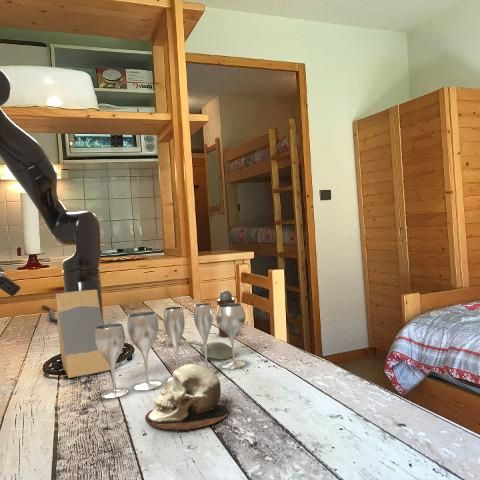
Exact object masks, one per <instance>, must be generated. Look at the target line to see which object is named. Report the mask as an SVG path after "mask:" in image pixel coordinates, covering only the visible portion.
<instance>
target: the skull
mask: <svg viewBox="0 0 480 480" xmlns="http://www.w3.org/2000/svg"><path fill="white" fill-rule="evenodd" d="M172 376H173V379H172V380H169V381H168V380H167V381H166V382H165V383H164V384H163V388H162V389H161V390H160V394H159V395H157V396H156V398H154V401H153V409H151V410H150V411H148V412H147V413H146V415H145V416H144V420H145V423H146V424H147V425H149V426H151V427H154V428H158V429H163V430H173V431H176V432H178V431H179V430H182V431H186V430H187V431H189V430H192V429H194V430H195V429H197V428H204V427H207V426H208V427H209V426H210V425H211V426H213V425H215V424H216V423H218V422H221V421H222V420H224V419H225V418H227V416H228V414H229V409H228V407H227V406H226V405H225V404H223V403H221V402H220V398H221V394H222V392H221V391H222V387H221V381H220V379H219V377H218V375H217V374H216V373H213V372H211V371H210V370H208V369H206V367H204V366H202V365H199V364H196V363H188V364H184V365H182V366H179V368H178V369H177V368H176V369H175V370H173V372H172Z"/></svg>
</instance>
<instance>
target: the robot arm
mask: <svg viewBox="0 0 480 480" xmlns="http://www.w3.org/2000/svg"><path fill="white" fill-rule="evenodd" d="M11 94H12V85H11V81H10V79H9V77H8V75H7V74H6V73H5V72H4V71H2V69H0V158H1V160H2V161H3V164H4V165H5V166H6V167H7V169H8V170H9V172H10V173H11V174H12V176H13V177H14V179H15V180H16V181H17V182H18V184H19V185H20V186H21V187H22V189H23V190H24V192H25V193H26V194H27V196H28V197H29V199H30V200H31V203H32V204H33V205H34V206H35V208H36V209H37V211H38V213H39V214H40V216H41V217H42V219H43V221H44V223H45V225H46V226H47V229H48V230H49V231H50V233H51V235H52V237H53V238H54V239H55V241H57V242H58V243H59V244H61V245H62V246H63V245H64V246H75V250H74V251H75V252H74V253H73V254H72V256H70V257H68V258H66V259H64V260H63V261H62V263H61V269H62V277H63V289H64V293H67V292H75V291H85V290H97V293H98V299H99V305H100V310H101V315H102V320H103V324H104V325H105V319H104V318H105V317H104V306H103V305H104V304H103V295H102V283H101V270H100V261H101V258H102V257H101V256H102V249H101V248H102V247H101V226H100V222H99V218H98V217H97V216H96V214H95V213H94V212H92V211H88V210H84V211H83V210H81V211H80V210H79V211H77V210H76V211H69V210H68V209H67V208H66V207H65V206H64V204H63V203H62V202H61V199H60V198H59V196H58V189H57V188H58V173H57V169H56V167H55V164H54V163H53V161H52V159H51V158H50V156H49V155H48V154H47V152H46V150H45V149H44V148H43V147H42V145H41V144H40V143H39V142H38V141H37V140H35V138H33V137H32V136H31V135H29V134H28V133H27V132H25V131H24V130H23V129H22V128H20V127H19V126H18V125H16V124H15V123H14V122H13V121H12V120H11V119H10V118H9V117H8V116H7V115H6V113H5V112H4V111H3V109H2V107H1V106H3V105H5V104H6V103H7V102H8V101H9V99H10V97H11ZM21 288H22V287H21V285H19V284H18V283H17V282H15V281H14V280H12V279H11V278H9V277H8V276H7V274H6V272H5V270H4V269H2V268H1V267H0V290H2V291H3V292H4V293H6V294H7V295H8V296H10V297H14V296H16V294H17V293H18V292H20V290H21ZM41 308H42V309H46V310H48V311H49V319H50V320H51V321H52V322H54V323H57V324H58V321H57V318H56V317H54V315H53V314H54V310H53V308H51V307H50V306H48V305H44V304H43V305H41Z"/></svg>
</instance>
